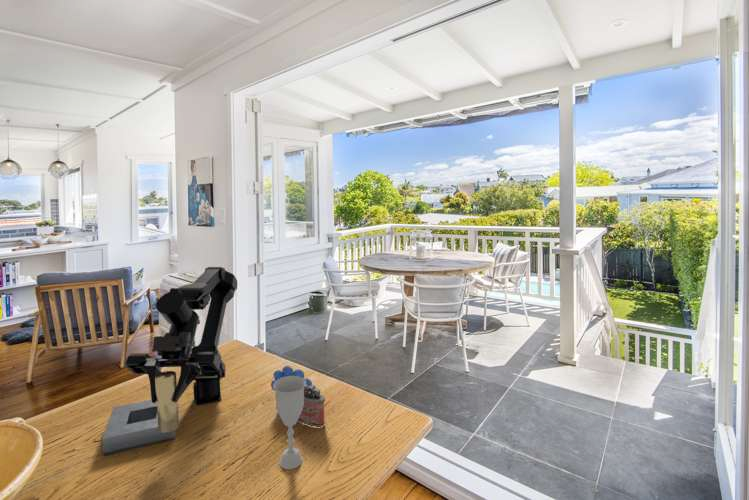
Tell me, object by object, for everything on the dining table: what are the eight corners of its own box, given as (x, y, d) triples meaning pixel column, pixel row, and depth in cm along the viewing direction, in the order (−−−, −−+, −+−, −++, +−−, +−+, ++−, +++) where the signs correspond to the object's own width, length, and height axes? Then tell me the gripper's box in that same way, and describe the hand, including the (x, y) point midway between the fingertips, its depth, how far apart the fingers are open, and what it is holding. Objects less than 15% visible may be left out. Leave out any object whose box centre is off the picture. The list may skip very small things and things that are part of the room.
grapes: (266, 415, 99) (265, 372, 98) (274, 402, 106) (273, 361, 104) (309, 417, 99) (309, 374, 97) (315, 403, 105) (314, 363, 104)
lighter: (327, 423, 96) (327, 386, 95) (320, 430, 93) (320, 392, 92) (301, 415, 100) (301, 379, 98) (293, 422, 97) (293, 385, 95)
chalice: (277, 450, 86) (276, 375, 83) (308, 449, 86) (307, 375, 84) (272, 473, 78) (270, 392, 76) (304, 472, 79) (304, 391, 77)
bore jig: (176, 409, 102) (175, 395, 101) (175, 438, 89) (174, 423, 89) (114, 421, 95) (113, 407, 95) (103, 455, 83) (102, 438, 82)
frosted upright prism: (179, 419, 85) (176, 369, 83) (178, 429, 81) (175, 377, 80) (159, 424, 83) (156, 372, 82) (157, 434, 80) (153, 381, 78)
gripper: (125, 319, 82) (98, 392, 73) (214, 317, 84) (199, 389, 75) (145, 340, 91) (123, 407, 82) (225, 338, 93) (213, 404, 84)
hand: (164, 402), depth 80 cm, fingers closed on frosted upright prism, 4 cm apart
